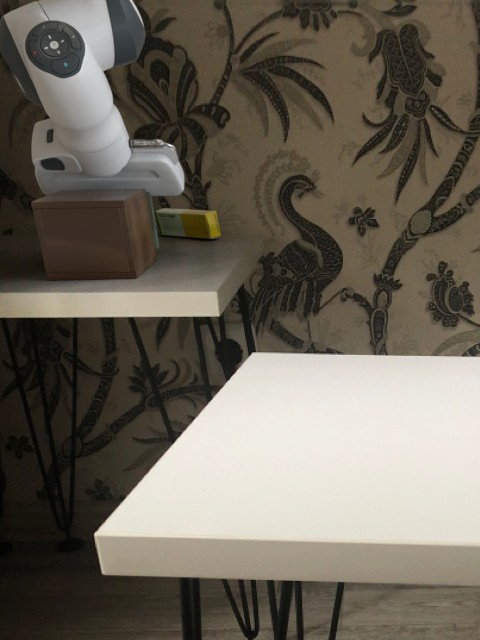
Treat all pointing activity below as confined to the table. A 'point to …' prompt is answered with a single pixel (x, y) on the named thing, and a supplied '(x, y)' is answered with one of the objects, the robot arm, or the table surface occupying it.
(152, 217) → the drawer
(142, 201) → the wooden box
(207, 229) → the medication box
